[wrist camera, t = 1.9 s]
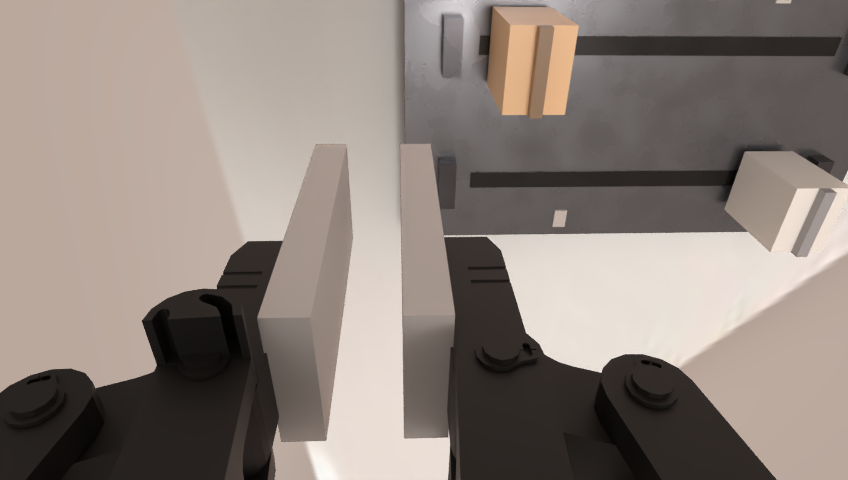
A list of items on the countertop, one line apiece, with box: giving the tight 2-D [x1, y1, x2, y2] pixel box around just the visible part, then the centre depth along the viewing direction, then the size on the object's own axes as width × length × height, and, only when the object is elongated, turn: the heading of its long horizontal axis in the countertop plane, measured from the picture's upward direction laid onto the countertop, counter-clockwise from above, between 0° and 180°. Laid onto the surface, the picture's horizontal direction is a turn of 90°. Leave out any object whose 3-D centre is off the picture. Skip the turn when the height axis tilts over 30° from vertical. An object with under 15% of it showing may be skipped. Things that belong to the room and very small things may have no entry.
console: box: [404, 0, 848, 235], centre depth 32 cm, size 16×28×3 cm, turn 89°
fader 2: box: [724, 151, 848, 257], centre depth 31 cm, size 4×3×6 cm
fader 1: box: [487, 6, 579, 119], centre depth 26 cm, size 4×3×6 cm
